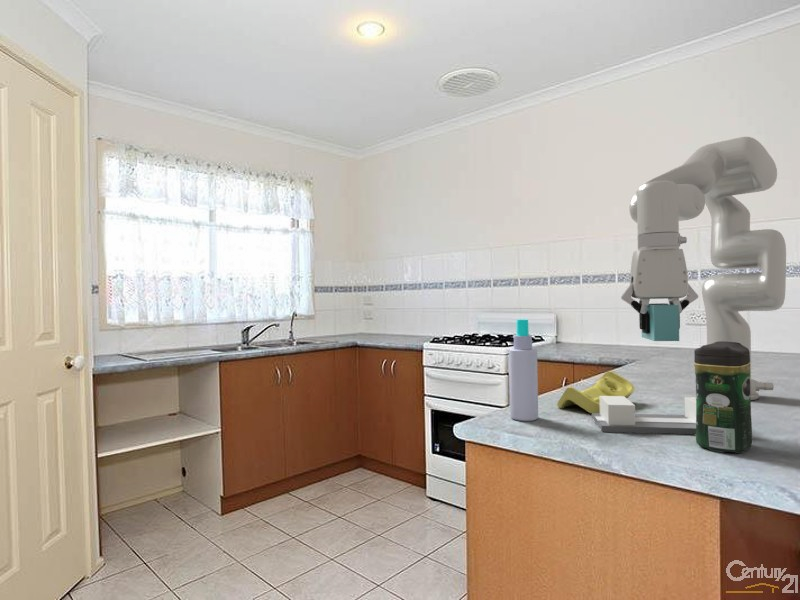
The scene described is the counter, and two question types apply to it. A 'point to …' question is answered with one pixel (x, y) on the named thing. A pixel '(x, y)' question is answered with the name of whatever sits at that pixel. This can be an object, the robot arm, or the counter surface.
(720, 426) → the coffee jar
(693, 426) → the rail board
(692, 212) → the robot arm
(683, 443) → the counter surface
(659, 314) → the block
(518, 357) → the spray bottle
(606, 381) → the plastic component
